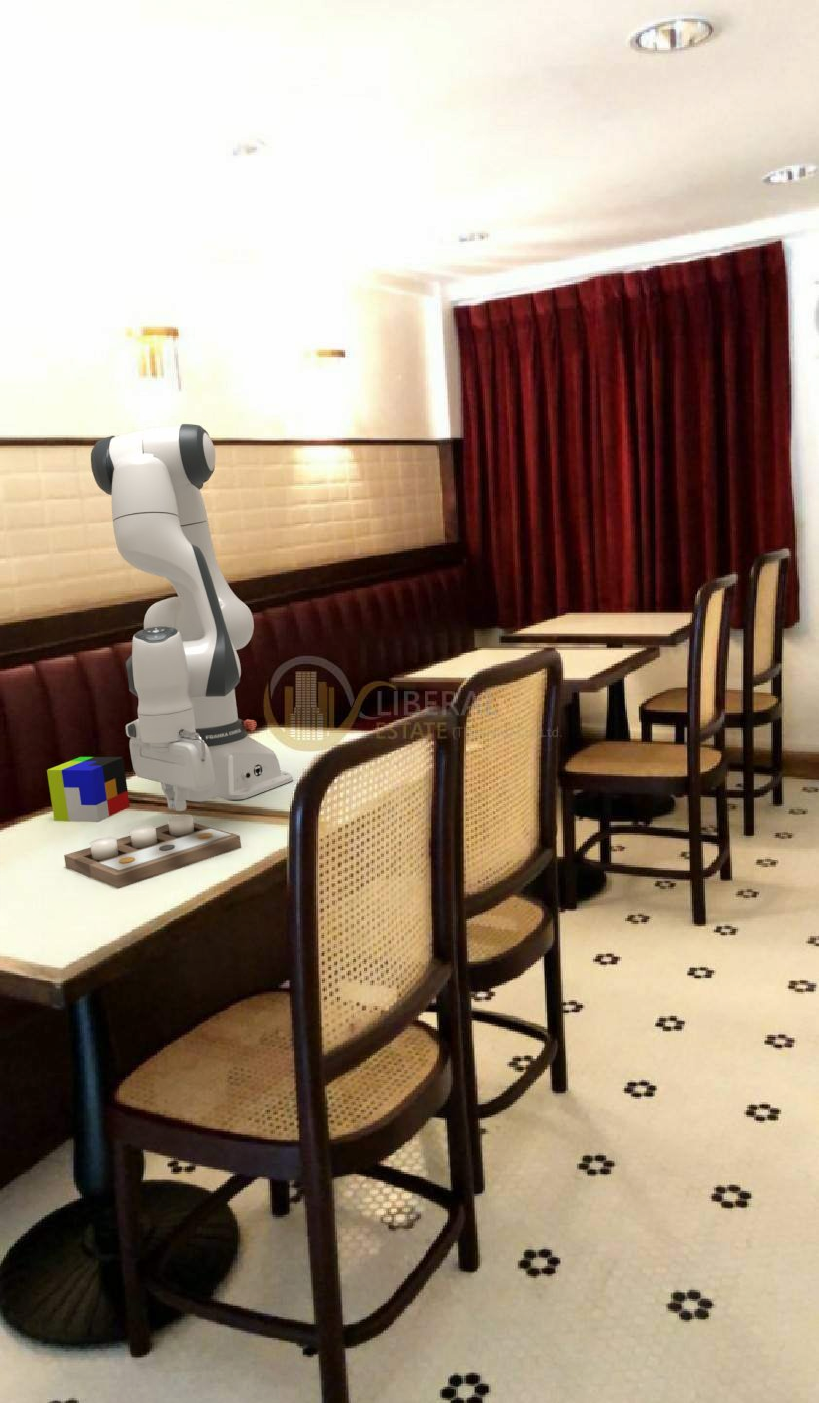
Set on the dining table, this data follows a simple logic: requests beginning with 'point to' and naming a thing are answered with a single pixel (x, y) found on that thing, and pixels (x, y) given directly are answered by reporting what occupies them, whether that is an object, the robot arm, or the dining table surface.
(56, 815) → the puzzle toy
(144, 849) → the console
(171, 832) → the button
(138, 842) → the middle button
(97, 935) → the dining table surface
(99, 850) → the button
